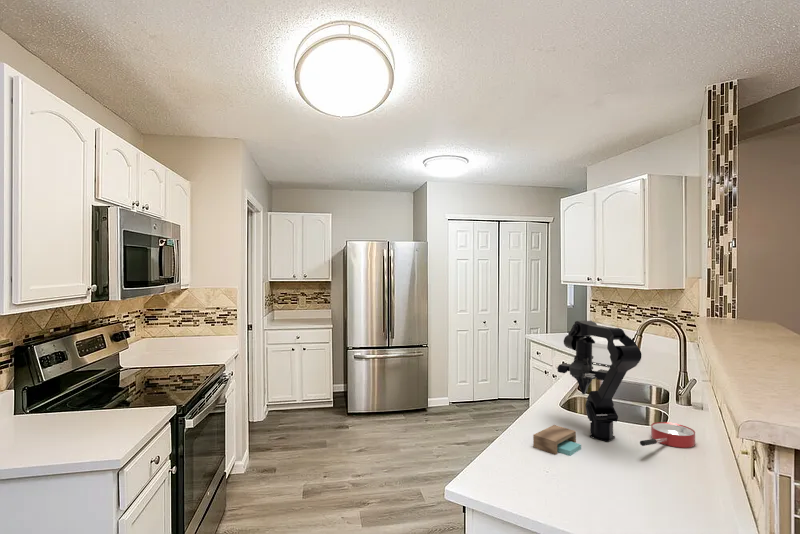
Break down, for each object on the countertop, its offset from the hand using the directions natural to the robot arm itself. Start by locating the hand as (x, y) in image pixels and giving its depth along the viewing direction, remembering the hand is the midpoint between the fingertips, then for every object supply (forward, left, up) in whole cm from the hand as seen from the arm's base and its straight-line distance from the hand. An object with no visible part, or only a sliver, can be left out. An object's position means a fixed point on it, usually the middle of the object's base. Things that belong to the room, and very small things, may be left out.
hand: (583, 393), depth 165 cm
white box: (+41, -125, -13) cm, 132 cm away
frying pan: (-28, +1, -13) cm, 31 cm away
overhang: (-2, +26, -12) cm, 29 cm away
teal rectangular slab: (-4, +26, -13) cm, 29 cm away
